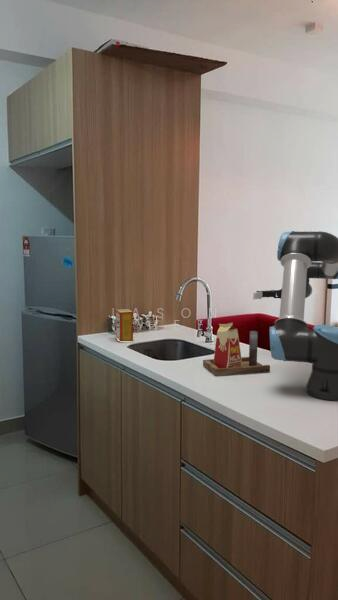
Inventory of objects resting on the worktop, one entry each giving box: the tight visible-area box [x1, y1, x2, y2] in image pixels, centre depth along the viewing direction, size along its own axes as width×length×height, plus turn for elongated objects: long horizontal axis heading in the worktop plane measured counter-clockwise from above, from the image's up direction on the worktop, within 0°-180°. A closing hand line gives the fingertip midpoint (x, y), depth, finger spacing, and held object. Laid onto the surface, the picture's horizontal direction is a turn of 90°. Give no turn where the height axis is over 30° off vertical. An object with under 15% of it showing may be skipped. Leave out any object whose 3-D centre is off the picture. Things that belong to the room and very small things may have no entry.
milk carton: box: [213, 322, 243, 368], centre depth 194 cm, size 9×9×20 cm
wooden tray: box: [202, 330, 271, 377], centre depth 196 cm, size 15×23×15 cm, turn 105°
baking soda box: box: [115, 308, 134, 342], centre depth 247 cm, size 10×6×16 cm
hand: (268, 297), depth 204 cm, fingers open, 13 cm apart
